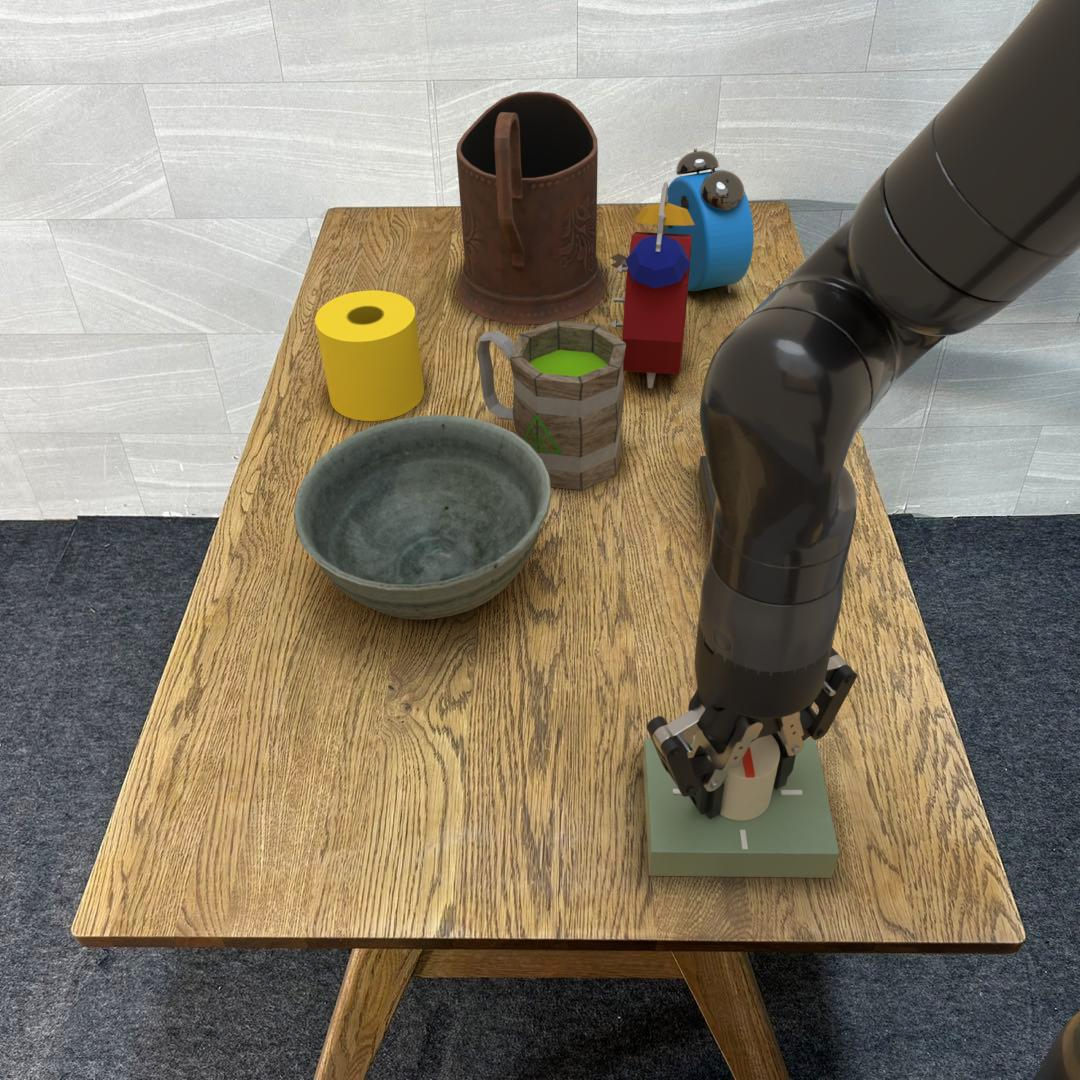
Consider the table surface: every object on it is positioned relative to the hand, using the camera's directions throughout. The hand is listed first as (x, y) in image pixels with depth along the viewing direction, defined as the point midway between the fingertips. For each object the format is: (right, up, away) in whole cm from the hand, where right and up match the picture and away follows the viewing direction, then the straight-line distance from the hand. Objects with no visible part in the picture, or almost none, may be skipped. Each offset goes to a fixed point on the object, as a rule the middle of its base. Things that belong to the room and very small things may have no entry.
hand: (739, 791), depth 70 cm
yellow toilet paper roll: (-31, +32, +42) cm, 61 cm away
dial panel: (0, -2, +2) cm, 3 cm away
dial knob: (0, 0, 0) cm, 0 cm away
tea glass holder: (-15, +46, +56) cm, 74 cm away
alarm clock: (+6, +48, +58) cm, 75 cm away
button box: (+7, +18, +25) cm, 31 cm away
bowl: (-22, +13, +21) cm, 33 cm away
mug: (-12, +26, +34) cm, 44 cm away
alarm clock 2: (-2, +36, +45) cm, 58 cm away
